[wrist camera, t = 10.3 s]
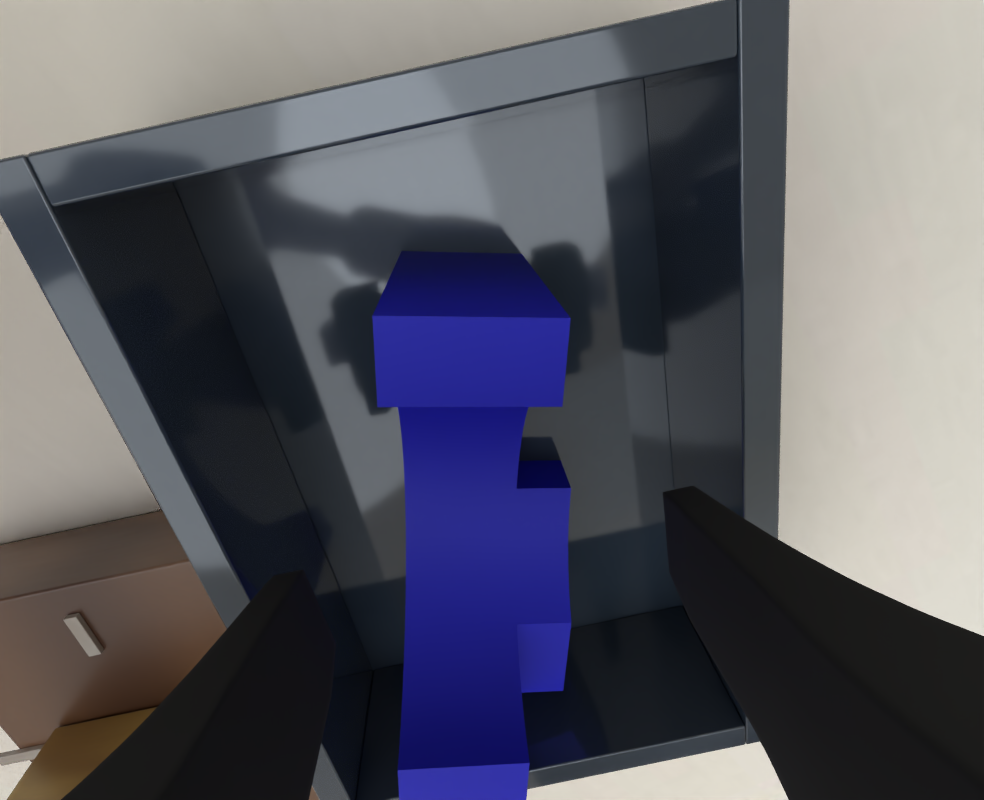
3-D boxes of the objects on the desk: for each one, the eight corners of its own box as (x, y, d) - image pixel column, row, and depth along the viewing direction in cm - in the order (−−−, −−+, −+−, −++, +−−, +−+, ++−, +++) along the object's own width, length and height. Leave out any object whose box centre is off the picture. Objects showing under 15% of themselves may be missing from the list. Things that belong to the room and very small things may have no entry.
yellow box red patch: (82, 760, 17) (-10, 913, 14) (54, 727, 16) (-49, 878, 13) (241, 727, 17) (189, 873, 13) (220, 692, 16) (160, 835, 13)
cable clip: (546, 613, 19) (587, 799, 13) (413, 617, 19) (399, 811, 13) (580, 254, 14) (665, 319, 9) (401, 251, 14) (372, 315, 8)
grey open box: (360, 670, 20) (334, 829, 16) (144, 160, 13) (-29, 165, 8) (696, 600, 20) (774, 739, 16) (663, 46, 13) (791, -17, 8)
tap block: (136, 768, 22) (89, 863, 19) (-27, 549, 17) (-122, 629, 14) (366, 721, 22) (354, 808, 19) (262, 487, 17) (225, 555, 14)
